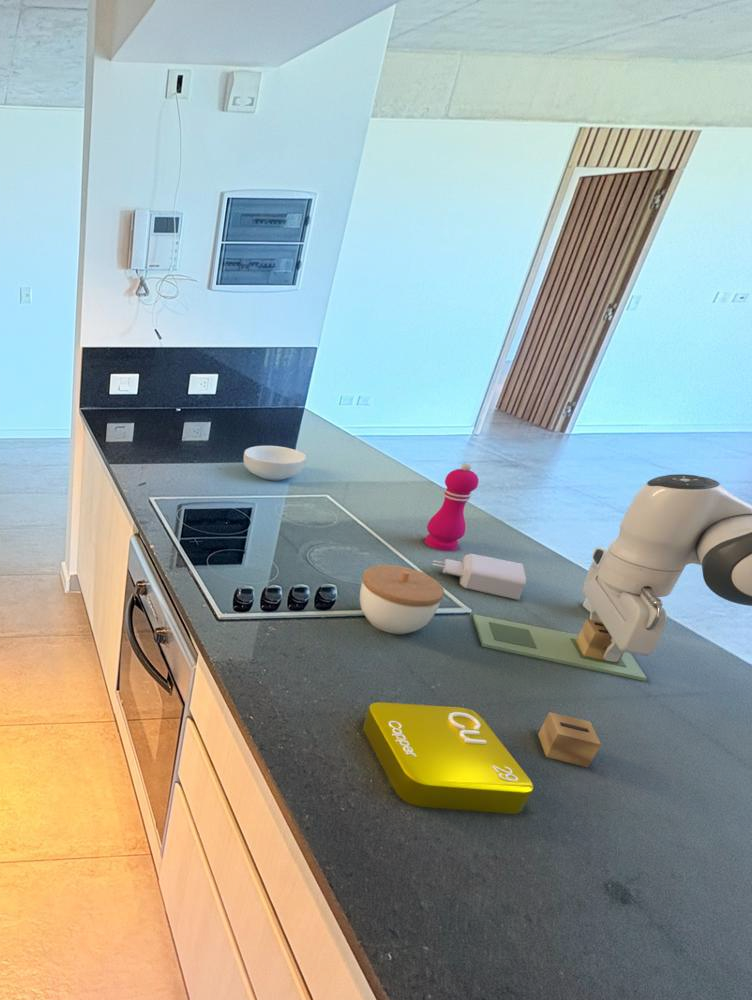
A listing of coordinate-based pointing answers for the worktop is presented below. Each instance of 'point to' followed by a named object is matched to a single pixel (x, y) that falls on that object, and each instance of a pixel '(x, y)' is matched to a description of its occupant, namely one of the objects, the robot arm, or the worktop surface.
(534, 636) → the word board
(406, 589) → the lidded bowl
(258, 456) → the cereal bowl
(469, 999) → the worktop surface
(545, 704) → the worktop surface
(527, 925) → the worktop surface
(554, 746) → the block
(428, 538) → the pepper mill
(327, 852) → the worktop surface
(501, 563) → the charger
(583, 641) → the block
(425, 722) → the element tile
